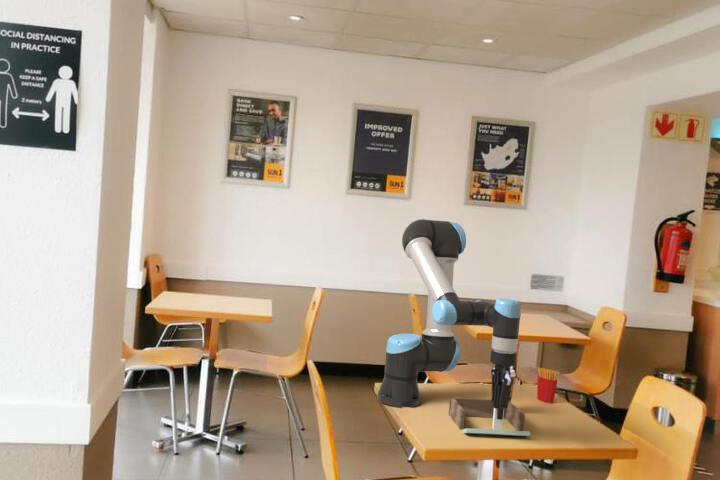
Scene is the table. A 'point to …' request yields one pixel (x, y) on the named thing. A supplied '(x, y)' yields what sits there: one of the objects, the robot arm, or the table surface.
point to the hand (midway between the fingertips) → (497, 428)
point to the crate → (482, 411)
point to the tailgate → (496, 432)
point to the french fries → (546, 385)
